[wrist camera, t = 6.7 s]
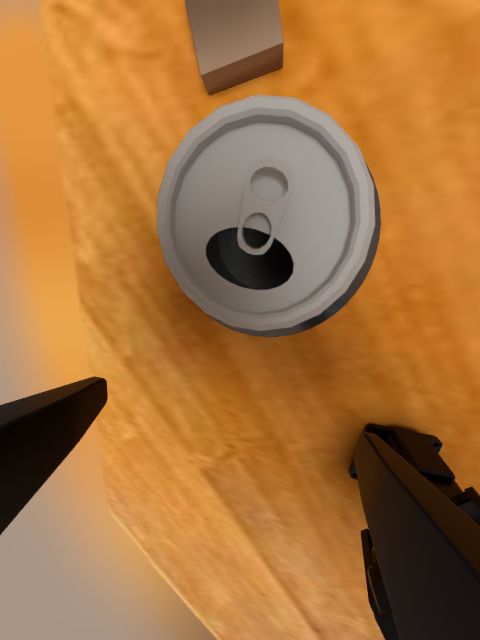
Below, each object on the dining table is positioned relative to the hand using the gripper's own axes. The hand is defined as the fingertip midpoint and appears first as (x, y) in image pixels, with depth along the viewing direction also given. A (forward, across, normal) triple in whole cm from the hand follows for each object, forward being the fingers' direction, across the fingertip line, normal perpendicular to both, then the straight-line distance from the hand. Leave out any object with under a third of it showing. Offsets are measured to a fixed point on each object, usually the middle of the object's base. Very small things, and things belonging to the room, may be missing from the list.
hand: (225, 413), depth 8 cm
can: (+13, 0, -6) cm, 14 cm away
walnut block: (+13, +4, -18) cm, 23 cm away
